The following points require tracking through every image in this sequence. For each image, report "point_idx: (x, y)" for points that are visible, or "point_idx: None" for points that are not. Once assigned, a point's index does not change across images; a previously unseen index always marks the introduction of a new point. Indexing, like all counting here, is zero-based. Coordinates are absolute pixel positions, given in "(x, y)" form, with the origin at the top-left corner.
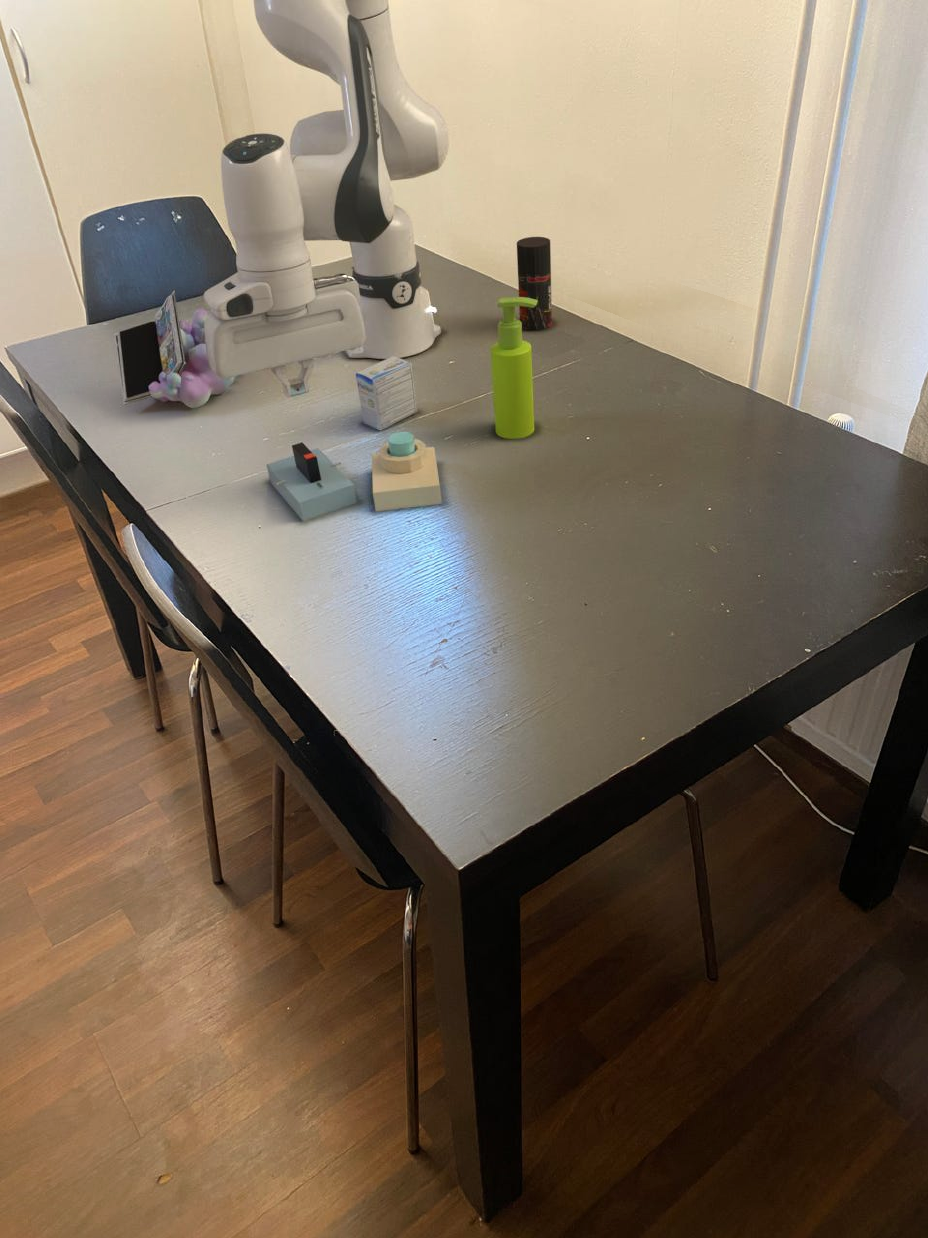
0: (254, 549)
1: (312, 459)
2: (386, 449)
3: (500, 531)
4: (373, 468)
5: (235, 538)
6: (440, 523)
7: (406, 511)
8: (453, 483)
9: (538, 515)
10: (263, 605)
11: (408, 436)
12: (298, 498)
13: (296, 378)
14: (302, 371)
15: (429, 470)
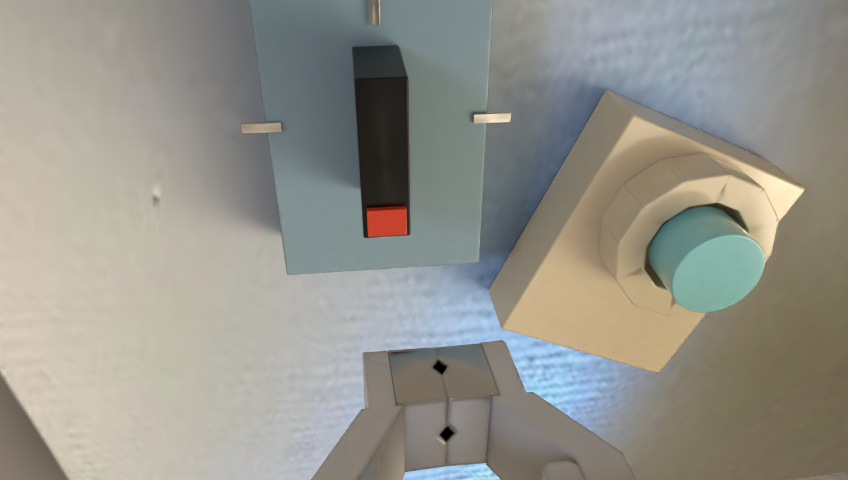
0: (124, 292)
1: (390, 236)
2: (658, 225)
3: (652, 459)
4: (578, 210)
5: (69, 215)
6: (581, 393)
7: None
8: None
9: (744, 447)
10: (121, 475)
11: (742, 279)
12: (292, 253)
13: (473, 406)
14: (528, 458)
15: None
